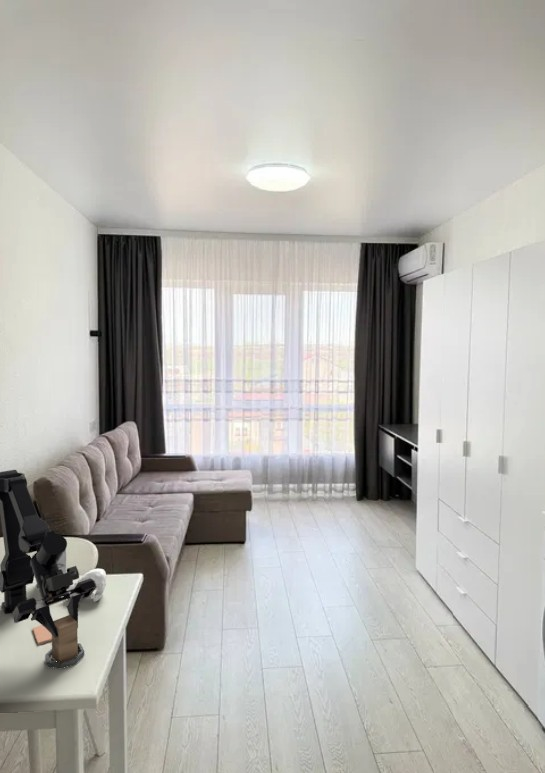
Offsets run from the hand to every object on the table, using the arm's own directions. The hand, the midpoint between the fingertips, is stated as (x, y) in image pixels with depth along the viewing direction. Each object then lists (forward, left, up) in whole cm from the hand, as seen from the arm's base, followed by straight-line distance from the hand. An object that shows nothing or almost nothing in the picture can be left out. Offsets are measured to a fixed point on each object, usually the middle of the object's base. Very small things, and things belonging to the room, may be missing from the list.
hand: (66, 632), depth 119 cm
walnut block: (-1, 0, -7) cm, 7 cm away
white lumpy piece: (-28, +11, -7) cm, 31 cm away
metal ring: (-1, 0, -7) cm, 7 cm away
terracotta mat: (-14, -1, -7) cm, 16 cm away
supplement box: (-42, +5, -7) cm, 43 cm away
